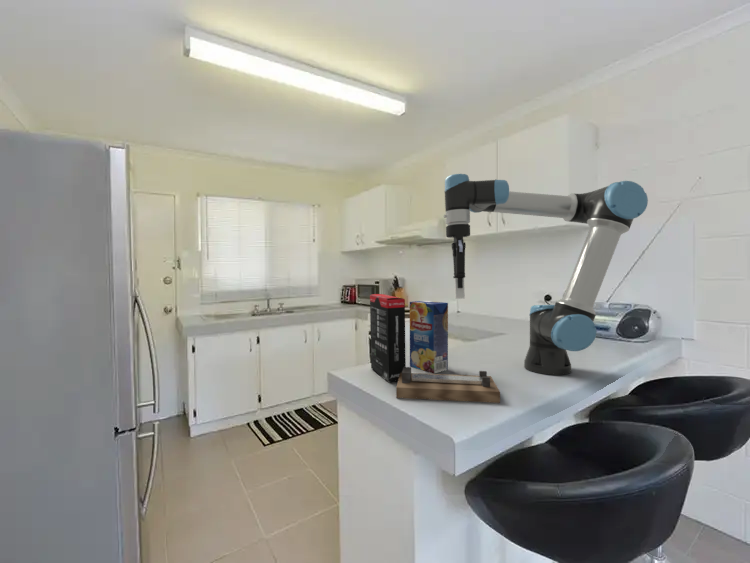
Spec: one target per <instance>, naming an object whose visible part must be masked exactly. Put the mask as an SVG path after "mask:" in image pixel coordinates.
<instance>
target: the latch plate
mask: <svg viewBox="0 0 750 563" xmlns="http://www.w3.org/2000/svg"><path fill="white" fill-rule="evenodd" d="M478 373H479V375H471V374H468V375H467V374H451V375H452V376H473V377H482V385H480V384H460V383H441V382H421V381H412V374H423V372H422V373H417V372H416V373H415V372H413V373H412V367H410V366H406V367H403V371H402V373H400V375H399V379H398V381H397V384H396V388H395V391H396V394H395V395H396V396H395V397H396V399H413V400H417V399H418V400H430V401H431V400H432V401H433V400H434V401H451V402H452V401H453V402H455V401H456V402H471V403H472V402H476V403H495V404H496V403H497V404H500V403H501V391H500V389H499V387H498V385H497V383H495V381H494V379H493V377H492V376H491V375H488V374H487V373H488V372H487V371H486V370H479V372H478ZM431 374H432V375H450V374H445V373H444V374H443V373H441V374H440V373H434V374H433V373H431Z"/></svg>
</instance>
